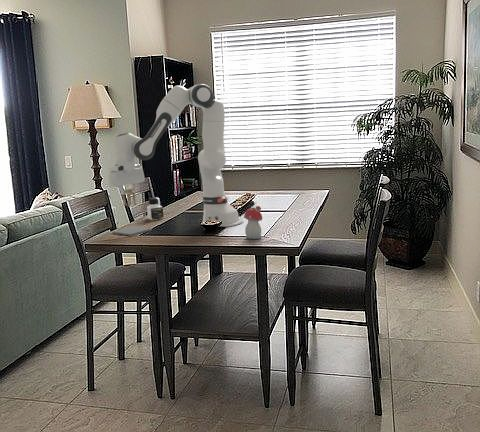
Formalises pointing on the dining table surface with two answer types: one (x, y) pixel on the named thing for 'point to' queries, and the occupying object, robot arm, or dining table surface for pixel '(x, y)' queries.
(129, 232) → the mat
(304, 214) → the dining table surface
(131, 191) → the mini stool
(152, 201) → the medicine bottle
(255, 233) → the decorative ornament
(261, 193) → the dining table surface
